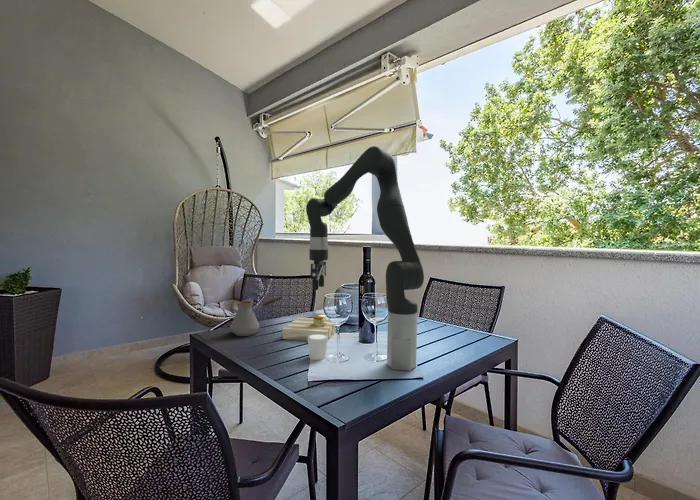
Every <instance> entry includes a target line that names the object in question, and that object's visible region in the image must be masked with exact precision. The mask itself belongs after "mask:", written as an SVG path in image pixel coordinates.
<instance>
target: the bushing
mask: <svg viewBox="0 0 700 500" xmlns="http://www.w3.org/2000/svg"><path fill="white" fill-rule="evenodd" d="M325 315H326V314H325V313H320V312H319V313H312V314H311V317H312V319H313V326H317V327H324V319H325V318H326V317H327V315H326V316H325Z"/></svg>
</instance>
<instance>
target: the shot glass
mask: <svg viewBox="0 0 700 500" xmlns="http://www.w3.org/2000/svg"><path fill="white" fill-rule="evenodd" d="M328 342H329V340H328V336H327V335H324V334H312V335H309V336H308V341H307V345H308V356H309V359H310V360H314V361H322V360H325V359H326V357H327V349H328Z"/></svg>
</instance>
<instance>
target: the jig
mask: <svg viewBox="0 0 700 500" xmlns="http://www.w3.org/2000/svg"><path fill="white" fill-rule="evenodd" d="M330 320H331V319H325V318H324V327H317V326H313V318H311V317H310V318H306V317H296V318H295V319H294V320H293V321H291V322H290V323H288V324H287V325H286V326H284V327H283V328H282V339H284V340H295V341H305V342H306V341H307V342H308V336H309V335H312V334H324V335H327V336H328V341H329V340H330V339H331V338H332V337H331V336H332V335H333V336H334V334H335V333H336V332H335V324H333V323H332V322H331V321H330ZM330 337H331V338H330Z"/></svg>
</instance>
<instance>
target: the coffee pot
mask: <svg viewBox="0 0 700 500" xmlns="http://www.w3.org/2000/svg"><path fill="white" fill-rule="evenodd" d="M279 300H282V302H284V298H283V296H278V297H276V298H274V299H271V300H269V301H267V302H264V303H262V304H261V305H258V306H255V307H252V305H253V304H254V301H251V300H250V301H249V300H242V301H241V300H240V301H238V302H236V305H237V307H238V308H237V310H236V312H235V315H234V318H233V319H232V322H231V325H230V327H229V329H230V331H231V332H232V333H233V334H234V335H235V336H237V337H238V336H239V337H248V336H252V335H254V334H256V332H257V331H258V330H259V328H260V324H259V321H258V319H257V317H256V314H255V313H254V311H256V310H258V309H260V308H263V307H265V306H268V305H271V304H273V303H275V302H276V301H278V302H279Z"/></svg>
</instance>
